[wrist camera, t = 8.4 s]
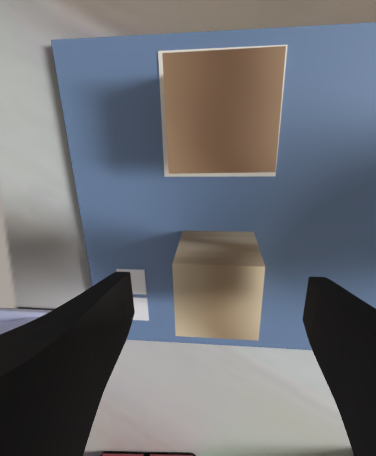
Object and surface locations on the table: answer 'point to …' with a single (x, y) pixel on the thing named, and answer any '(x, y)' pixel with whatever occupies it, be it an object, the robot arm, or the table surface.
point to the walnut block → (223, 109)
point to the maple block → (218, 285)
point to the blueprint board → (227, 182)
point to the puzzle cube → (142, 454)
